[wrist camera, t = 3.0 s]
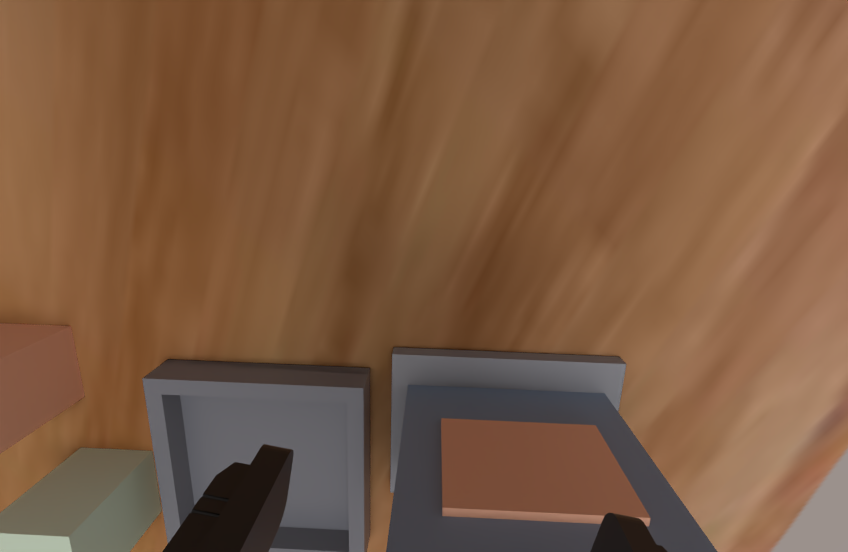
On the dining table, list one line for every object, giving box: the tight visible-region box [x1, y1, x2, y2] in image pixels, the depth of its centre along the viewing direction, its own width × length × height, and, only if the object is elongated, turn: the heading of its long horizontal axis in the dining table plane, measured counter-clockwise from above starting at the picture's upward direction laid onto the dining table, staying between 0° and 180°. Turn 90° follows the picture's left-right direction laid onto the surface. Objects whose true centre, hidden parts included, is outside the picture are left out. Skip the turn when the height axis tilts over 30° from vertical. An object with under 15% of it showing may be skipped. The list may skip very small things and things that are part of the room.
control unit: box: [386, 347, 717, 552], centre depth 22 cm, size 10×14×13 cm
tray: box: [142, 359, 370, 552], centre depth 28 cm, size 13×13×2 cm
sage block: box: [0, 448, 162, 552], centre depth 27 cm, size 5×5×7 cm
